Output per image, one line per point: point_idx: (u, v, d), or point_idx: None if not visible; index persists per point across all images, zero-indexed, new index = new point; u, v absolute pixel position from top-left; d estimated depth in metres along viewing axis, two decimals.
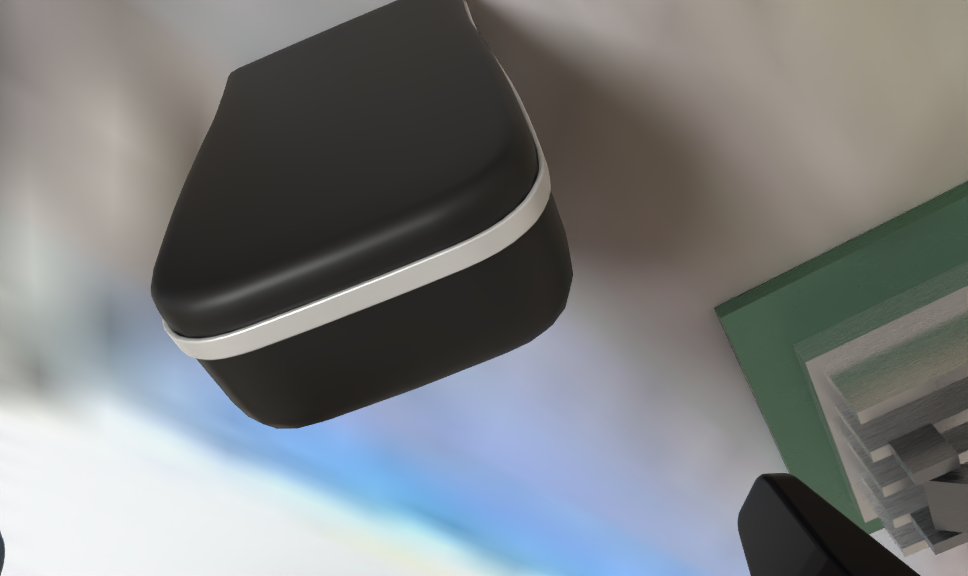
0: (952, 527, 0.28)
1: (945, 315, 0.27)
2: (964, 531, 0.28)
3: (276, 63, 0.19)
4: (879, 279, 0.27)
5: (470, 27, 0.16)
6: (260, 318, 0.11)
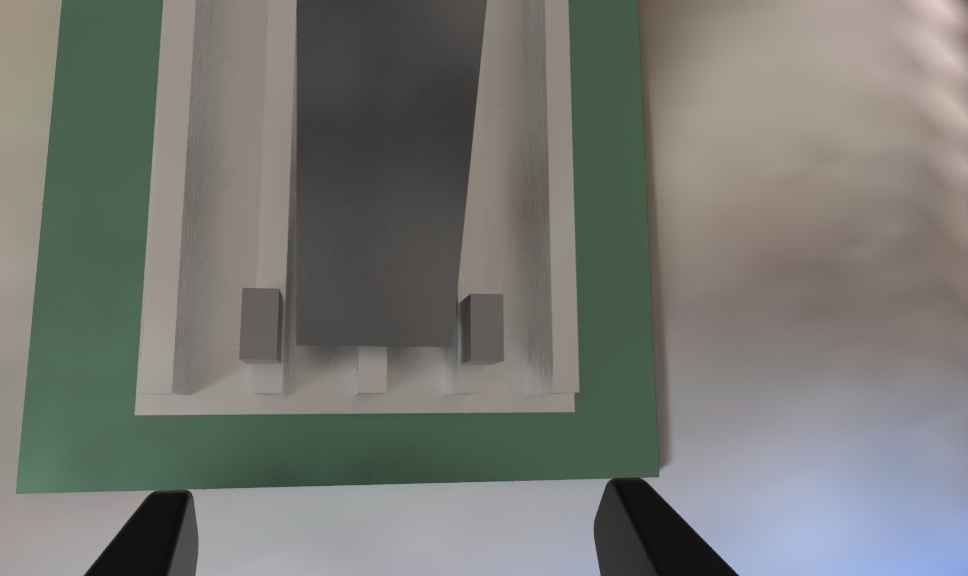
0: (440, 323, 0.17)
1: None
2: (451, 310, 0.17)
3: None
4: (107, 282, 0.21)
5: None
6: None
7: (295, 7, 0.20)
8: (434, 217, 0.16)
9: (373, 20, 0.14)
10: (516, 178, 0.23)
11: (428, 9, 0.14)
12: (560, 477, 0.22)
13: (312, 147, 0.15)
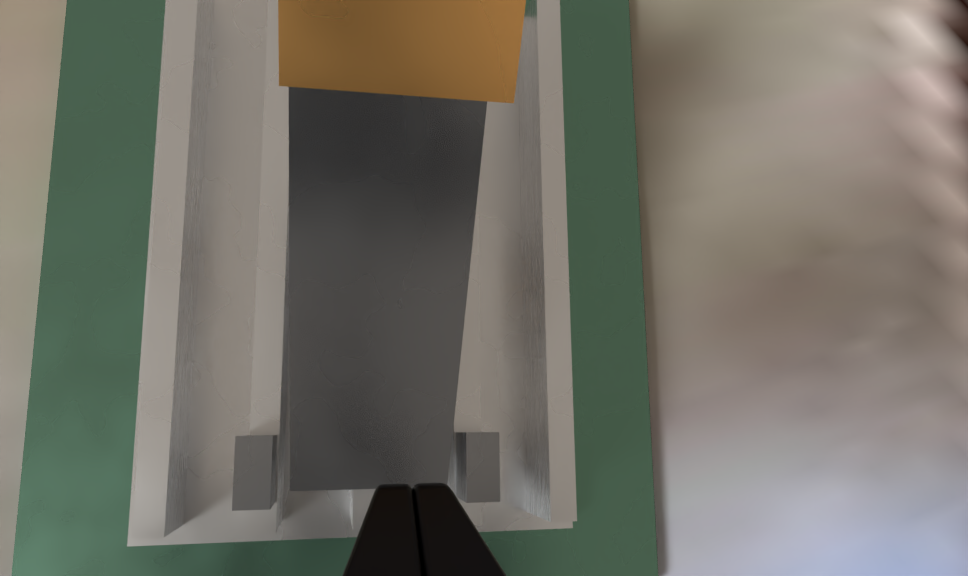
0: (436, 465, 0.17)
1: None
2: (446, 453, 0.17)
3: None
4: (100, 404, 0.21)
5: None
6: None
7: None
8: (429, 367, 0.16)
9: (366, 188, 0.14)
10: (512, 288, 0.22)
11: (421, 176, 0.14)
12: None
13: (305, 307, 0.15)
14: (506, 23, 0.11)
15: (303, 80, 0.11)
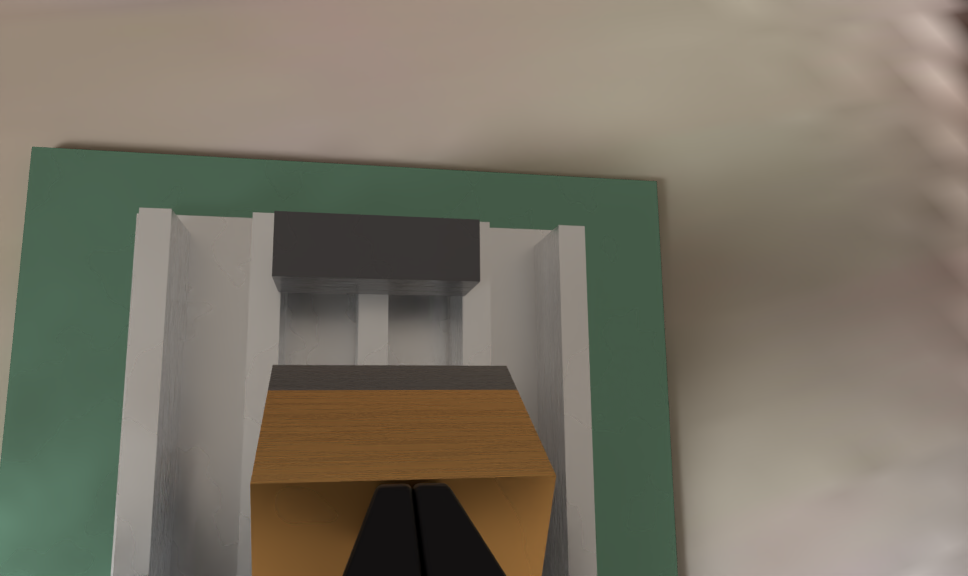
0: None
1: None
2: None
3: None
4: None
5: None
6: None
7: None
8: None
9: None
10: None
11: None
12: None
13: None
14: (531, 504, 0.09)
15: None
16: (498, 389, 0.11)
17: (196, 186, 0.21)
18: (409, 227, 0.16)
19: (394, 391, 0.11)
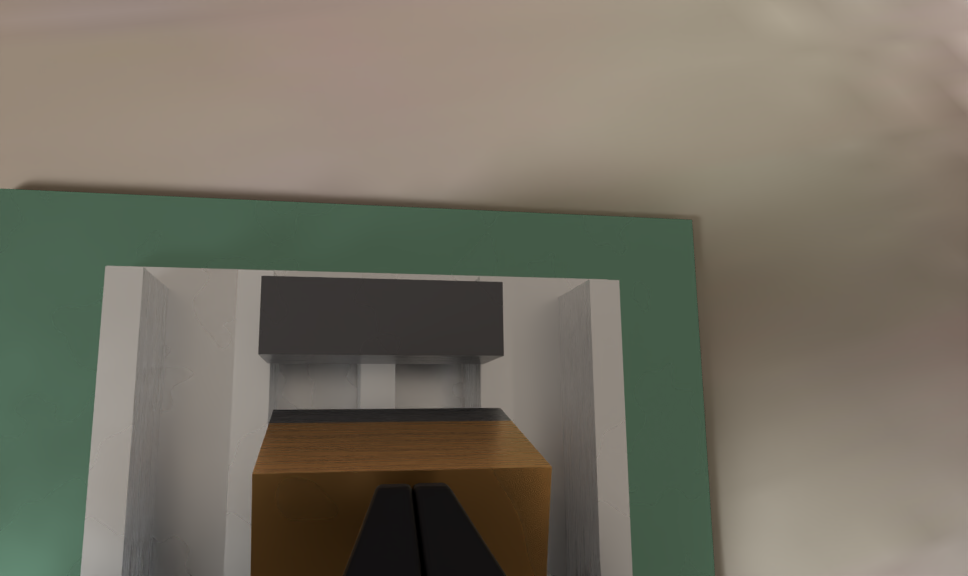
0: None
1: None
2: None
3: None
4: None
5: None
6: None
7: None
8: None
9: None
10: None
11: None
12: None
13: None
14: (530, 500, 0.09)
15: None
16: (493, 420, 0.11)
17: (176, 231, 0.18)
18: (420, 292, 0.14)
19: (392, 422, 0.11)
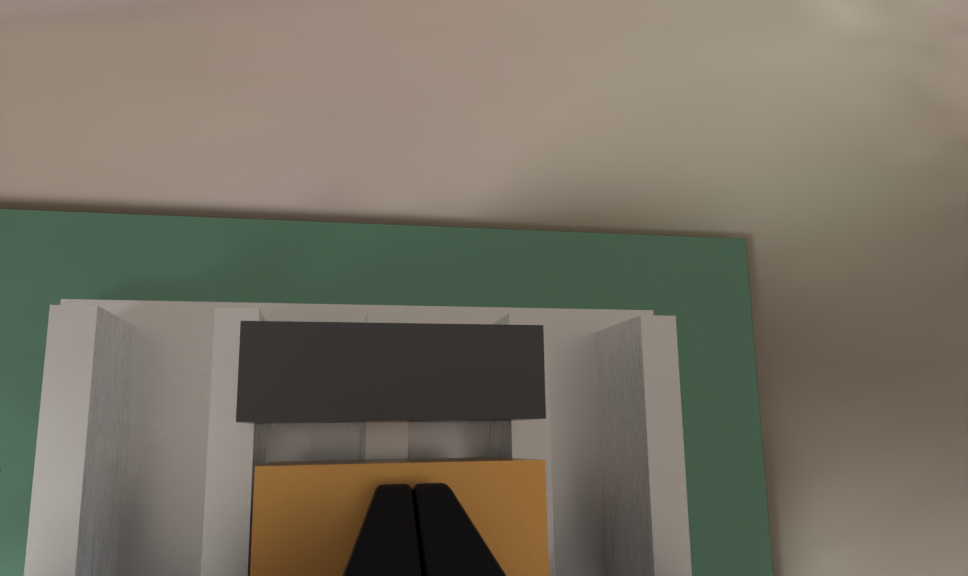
0: None
1: None
2: None
3: None
4: None
5: None
6: None
7: None
8: None
9: None
10: None
11: None
12: None
13: None
14: (526, 494, 0.09)
15: None
16: None
17: (147, 255, 0.16)
18: (441, 340, 0.11)
19: None
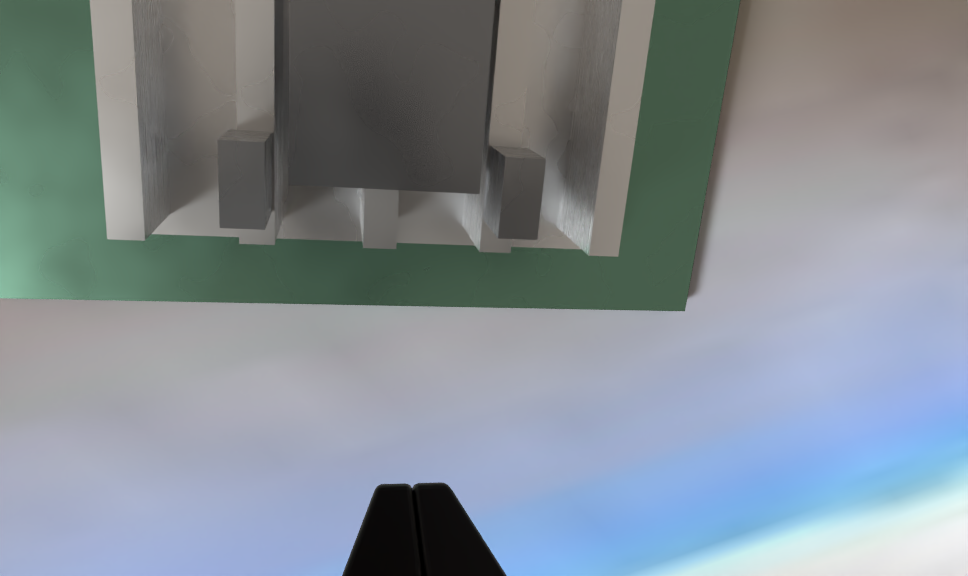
0: (466, 161, 0.14)
1: None
2: (478, 142, 0.14)
3: None
4: (52, 59, 0.17)
5: None
6: None
7: None
8: (457, 13, 0.13)
9: None
10: None
11: None
12: (579, 306, 0.21)
13: None
14: None
15: None
16: None
17: None
18: None
19: None
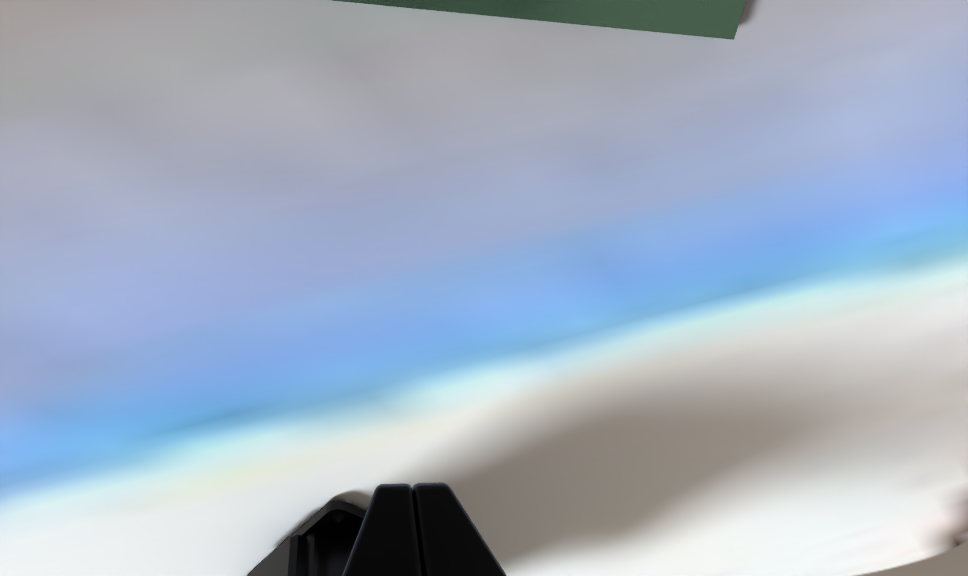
0: None
1: None
2: None
3: None
4: None
5: None
6: None
7: None
8: None
9: None
10: None
11: None
12: (617, 25, 0.19)
13: None
14: None
15: None
16: None
17: None
18: None
19: None
